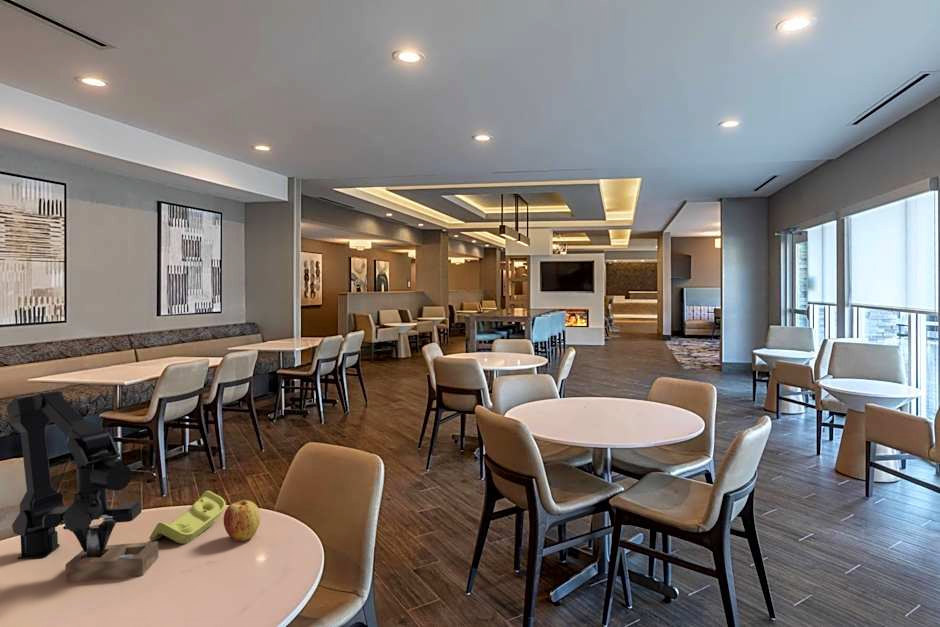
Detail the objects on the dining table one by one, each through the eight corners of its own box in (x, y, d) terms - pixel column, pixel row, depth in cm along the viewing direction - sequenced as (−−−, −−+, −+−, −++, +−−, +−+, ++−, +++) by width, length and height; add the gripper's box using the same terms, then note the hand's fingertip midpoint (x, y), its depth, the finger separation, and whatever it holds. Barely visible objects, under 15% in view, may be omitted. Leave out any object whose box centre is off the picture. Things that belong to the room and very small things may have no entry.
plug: (83, 560, 128) (82, 530, 128) (91, 554, 132) (90, 525, 131) (99, 559, 129) (98, 529, 129) (105, 553, 132) (104, 524, 132)
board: (65, 582, 125) (65, 563, 125) (86, 563, 134) (86, 545, 134) (142, 575, 128) (142, 556, 128) (158, 557, 137) (157, 540, 137)
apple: (228, 533, 150) (226, 496, 150) (263, 529, 152) (262, 493, 152) (221, 547, 141) (219, 508, 141) (259, 543, 143) (257, 505, 143)
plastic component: (188, 537, 143) (155, 519, 144) (178, 561, 144) (146, 543, 145) (232, 503, 162) (203, 487, 163) (224, 524, 163) (195, 508, 164)
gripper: (25, 499, 120) (28, 571, 121) (119, 493, 123) (122, 563, 124) (55, 482, 131) (58, 548, 132) (141, 477, 134) (143, 541, 135)
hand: (94, 550), depth 130 cm, fingers closed on plug, 3 cm apart
